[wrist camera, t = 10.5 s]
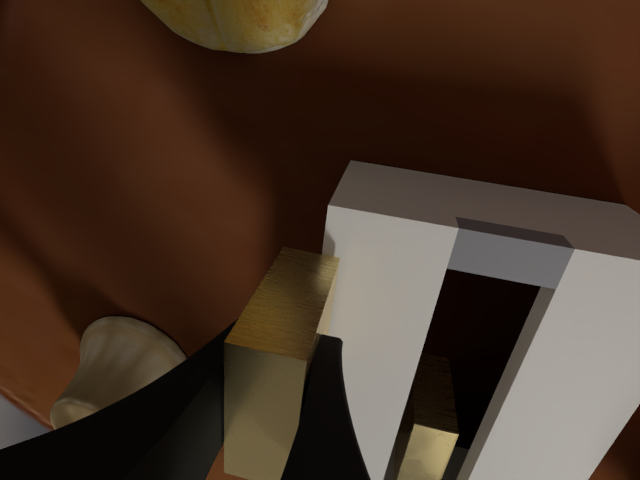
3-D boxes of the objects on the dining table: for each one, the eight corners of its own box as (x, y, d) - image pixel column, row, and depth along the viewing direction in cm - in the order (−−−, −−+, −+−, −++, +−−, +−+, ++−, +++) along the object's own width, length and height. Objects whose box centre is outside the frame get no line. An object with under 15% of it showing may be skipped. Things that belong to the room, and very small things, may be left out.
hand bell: (190, 420, 29) (-14, 770, 15) (87, 386, 30) (-201, 690, 16) (197, 336, 25) (-67, 700, 11) (79, 299, 26) (-312, 598, 12)
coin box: (495, 467, 25) (519, 579, 20) (311, 421, 26) (288, 514, 21) (626, 205, 17) (727, 276, 12) (350, 160, 18) (328, 204, 13)
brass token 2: (428, 418, 24) (433, 499, 20) (396, 411, 25) (393, 489, 20) (448, 358, 22) (459, 434, 18) (412, 350, 22) (414, 424, 18)
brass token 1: (323, 366, 16) (290, 490, 11) (275, 354, 16) (224, 472, 12) (340, 257, 13) (306, 361, 9) (283, 246, 14) (224, 341, 9)
